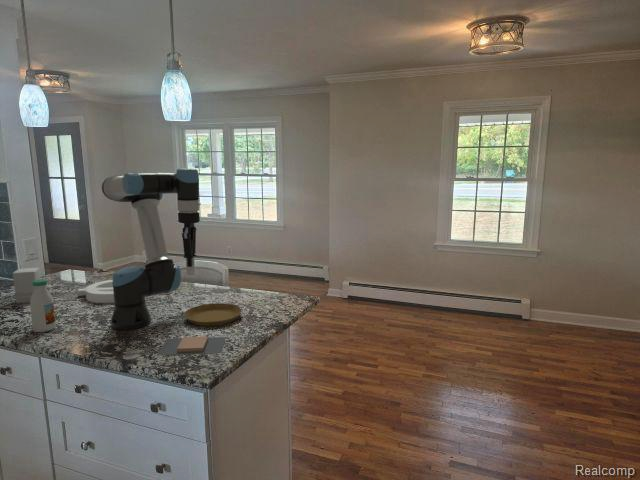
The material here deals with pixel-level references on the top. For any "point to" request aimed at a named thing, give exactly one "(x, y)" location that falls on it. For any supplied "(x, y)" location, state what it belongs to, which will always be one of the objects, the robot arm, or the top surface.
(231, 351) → the top surface
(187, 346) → the tile
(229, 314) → the plant saucer
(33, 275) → the supplement box
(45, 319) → the milk bottle
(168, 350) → the mat
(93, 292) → the ring with crossbar
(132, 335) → the top surface
